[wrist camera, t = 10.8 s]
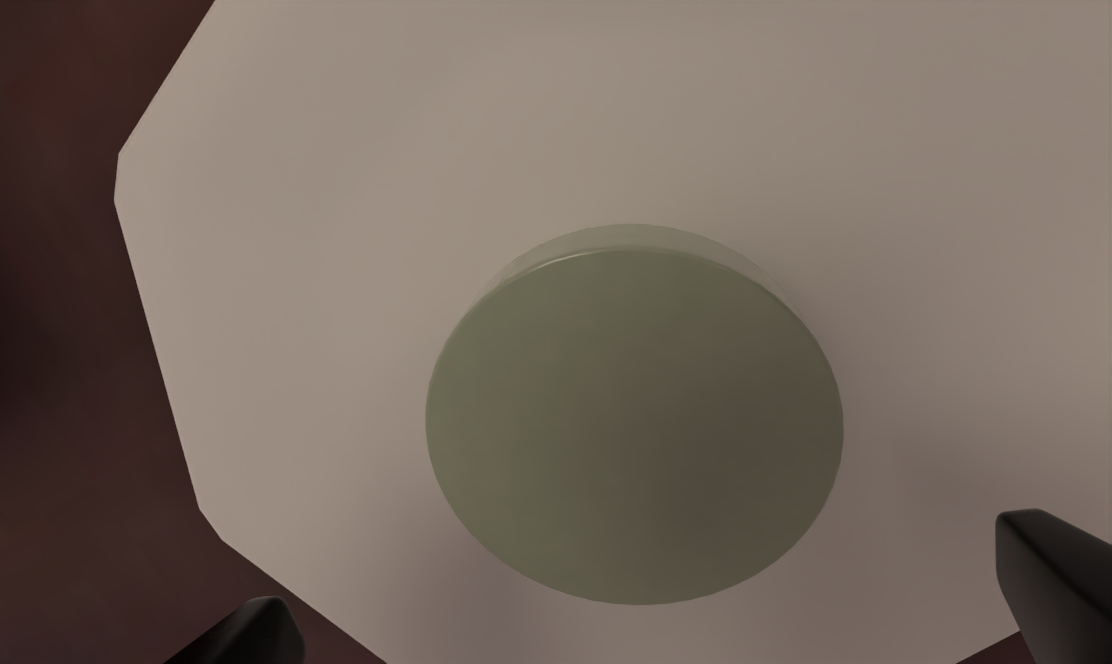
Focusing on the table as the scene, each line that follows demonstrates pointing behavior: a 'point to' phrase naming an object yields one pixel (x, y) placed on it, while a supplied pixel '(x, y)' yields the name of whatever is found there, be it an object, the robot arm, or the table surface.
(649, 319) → the green cylinder
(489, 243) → the plate
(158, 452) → the table surface
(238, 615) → the robot arm
